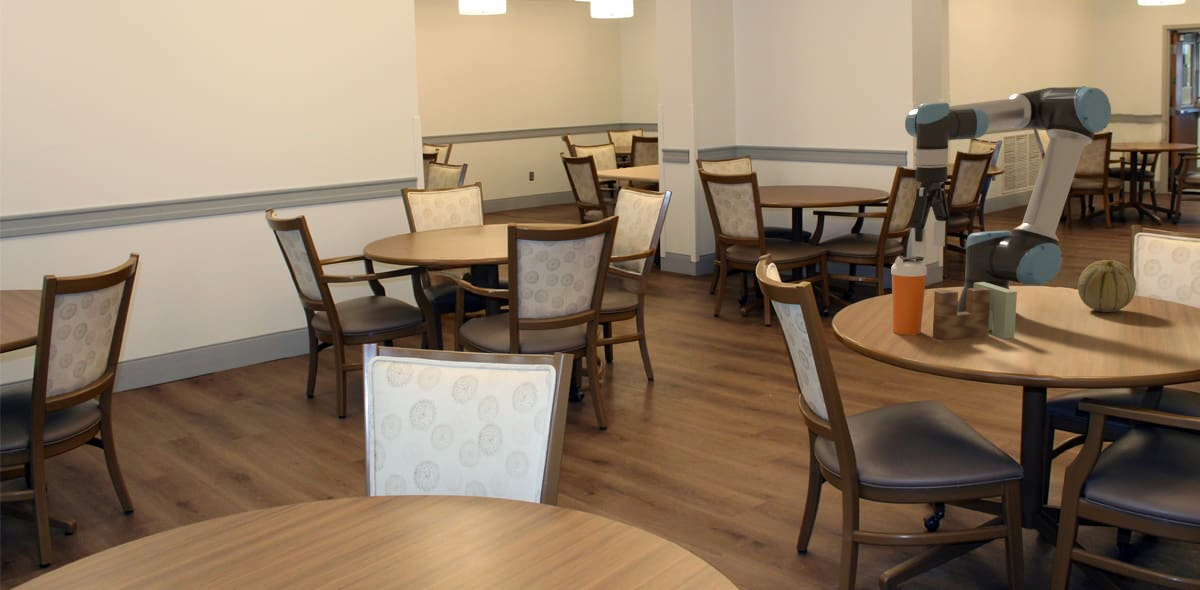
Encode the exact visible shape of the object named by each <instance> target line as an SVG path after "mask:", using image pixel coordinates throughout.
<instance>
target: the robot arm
mask: <svg viewBox="0 0 1200 590" xmlns="http://www.w3.org/2000/svg"><path fill="white" fill-rule="evenodd" d="M1109 100H1110V99H1109V97H1108V95H1107V93H1105V92H1104V91H1103V90H1102V89H1101V88H1097V87H1093V86H1090V87H1089V86H1085V85H1084V86H1077V87H1076V86H1073V87H1070V86H1069V87H1067V86H1066V87H1061V86H1060V87H1054V86H1053V87H1047V88H1046V87H1045V88H1042V89H1036V90H1031V91H1027V92H1022V93H1015V94H1012V95H1011V96H1009V97H1008V98H1005V99H998V100H997V99H996V100H988V101H978V102H973V103H972V102H971V103H964V104H957V105H950V104H949V103H948V102H926V103H924V102H923V103H921V104H919V105H918V107H917V108H916V109H915V108H914V109H912V110H910V111H909V112H908V113H907V115H906V117H905V120H904V121H905V122H904V125H905V126H904V128H905V132H907V134H909V136H911V137H914V138H916V145H915V146H916V147H915V148H916V152H915V153H914V156H915V157H916V158H915V159H916V161H915V162H916V163H915V164H916V165H917V167H916V168H915V181H916V182H917V183H921V184H922V185H921V187H916V190H915V191H916V192H915V199H914V200H915V201H914V204H913V205H914V206H913V211H912V216H911V219H910V226H909V227H910V229H913V230H914V231H913V232H914V234H913V255H922V256H925V255H926V254H927V253H926V249H927V228H925V227H926V224H927V219H928V218H929V214H930V212H931V211H930V210H931V208H932V211H933V216H934V218H935V220H933V245H932V246H934V247H945V246H946V244H945V243H946V221H950V213H949V207H948V206H949V205H948V198H947V193H946V183H945V182H947V180H948V167H947V166H946V165H947V164H949V141H958V140H973V139H978V138H982V136H984V135H985V134H986V133H987V132H988V130H994V129H1003V128H1004V129H1005V128H1012V129H1013V130H1023V129H1025V130H1026V129H1028V130H1029V129H1031V130H1040V131H1045V133H1046V136H1047V137H1048V139H1049V140H1048V145H1047V147H1046V151H1045V153H1044V156H1043V159H1042V162H1041V165H1040V168H1039V172H1038V174H1037V178H1036V181H1035V184H1034V187H1033V190H1032V193H1031V196H1030V198H1029V201H1028V204H1027V208H1026V211H1025V214H1024V217H1023V219H1022V223H1021V224H1020V225H1018V226H1017V227H1015V228H1013V231H1012V232H1011V230H993V231H991V230H989V231H978V232H972V233H970V234H969V235H968V236H967V239H966V246H965V269H964V270H965V272H964V286H963V289H962V291H961V292H960V295H959V297H958V308H957V312H966V296H967V289H971V288H974V283H977V282H986V283H989V284H993V285H996V286H999V287H1003V288H1006V289H1010V282H1014V283H1019V284H1022V285H1026V286H1037V287H1039V286H1044V285H1046V284H1047V283H1049V282H1051V281H1053V280H1054V279H1055V278H1056V276H1057V275H1058V273H1059V272H1060V270H1061V267H1062V264H1063V256H1062V255H1063V253H1062V251H1061V248H1060V247H1059V246H1058V245H1059V242H1060V240H1059V238H1058V236H1057V235H1056V231H1057V228H1058V225H1059V223H1060V220H1061V217H1062V215H1063V211H1064V208H1065V204H1066V202H1067V198H1068V195H1069V192H1070V190H1071V186H1072V183H1073V180H1074V177H1075V174H1076V171H1077V168H1078V165H1079V162H1080V159H1081V156H1082V153H1083V151H1084V148H1085V147H1086V146H1088V145H1090V144H1091V143H1092V142H1093V141H1094V140H1093V139H1094V137H1095V134H1096V133H1097V134H1098V133H1100V132H1102V131H1104V129H1106V128H1107V127H1108V125H1109V124H1110V121H1111V117H1112V105H1111V102H1110V101H1109ZM993 315H994V312H993Z"/></svg>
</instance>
